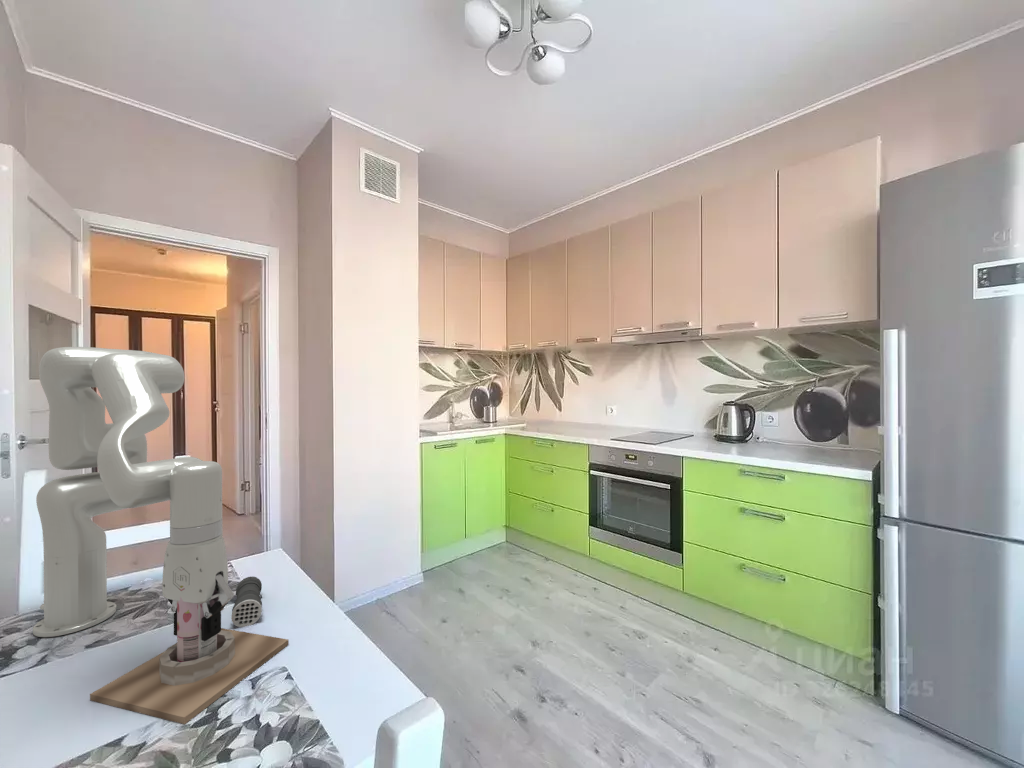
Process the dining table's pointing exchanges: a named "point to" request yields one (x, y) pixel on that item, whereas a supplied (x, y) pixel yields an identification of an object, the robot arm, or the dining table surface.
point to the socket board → (189, 694)
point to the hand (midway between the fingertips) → (197, 632)
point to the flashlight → (247, 602)
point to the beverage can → (192, 632)
